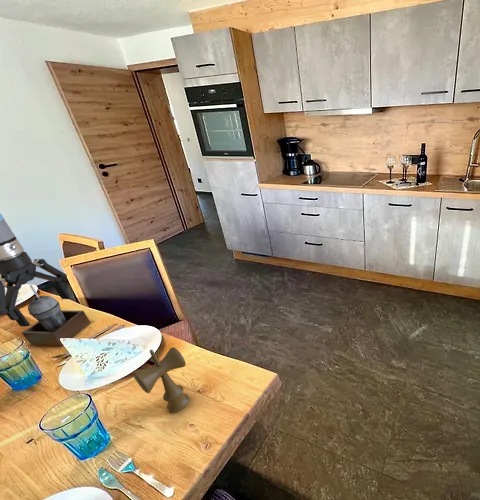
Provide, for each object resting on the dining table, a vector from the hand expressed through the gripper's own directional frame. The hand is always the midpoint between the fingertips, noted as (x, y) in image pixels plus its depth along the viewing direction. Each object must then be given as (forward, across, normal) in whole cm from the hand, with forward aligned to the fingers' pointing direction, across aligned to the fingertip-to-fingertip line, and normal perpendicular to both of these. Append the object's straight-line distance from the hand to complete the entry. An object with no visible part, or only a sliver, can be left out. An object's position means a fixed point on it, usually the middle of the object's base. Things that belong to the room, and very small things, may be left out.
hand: (47, 311), depth 96 cm
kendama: (+11, -24, -58) cm, 63 cm away
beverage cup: (+10, 0, 0) cm, 10 cm away
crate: (+10, 0, 0) cm, 10 cm away
